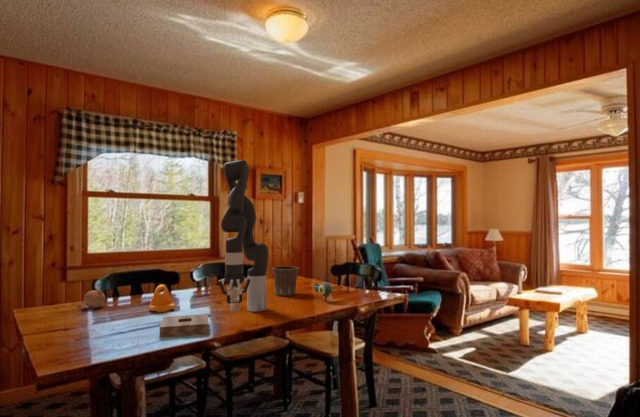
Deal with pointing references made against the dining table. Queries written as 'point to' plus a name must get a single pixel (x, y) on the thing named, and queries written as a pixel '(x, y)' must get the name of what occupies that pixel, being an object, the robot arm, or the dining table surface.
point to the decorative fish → (323, 288)
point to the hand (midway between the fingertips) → (234, 303)
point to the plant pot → (285, 280)
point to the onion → (94, 299)
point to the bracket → (161, 300)
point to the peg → (234, 299)
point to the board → (184, 325)
